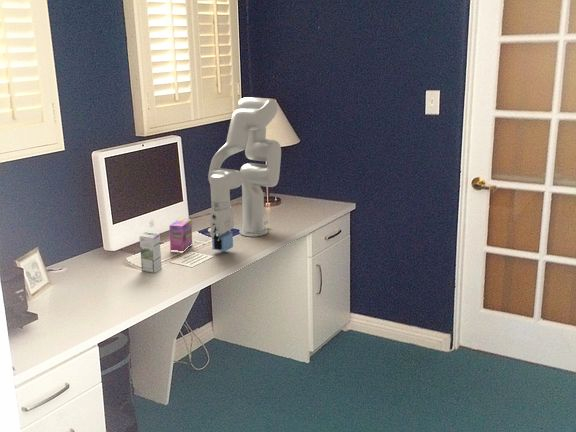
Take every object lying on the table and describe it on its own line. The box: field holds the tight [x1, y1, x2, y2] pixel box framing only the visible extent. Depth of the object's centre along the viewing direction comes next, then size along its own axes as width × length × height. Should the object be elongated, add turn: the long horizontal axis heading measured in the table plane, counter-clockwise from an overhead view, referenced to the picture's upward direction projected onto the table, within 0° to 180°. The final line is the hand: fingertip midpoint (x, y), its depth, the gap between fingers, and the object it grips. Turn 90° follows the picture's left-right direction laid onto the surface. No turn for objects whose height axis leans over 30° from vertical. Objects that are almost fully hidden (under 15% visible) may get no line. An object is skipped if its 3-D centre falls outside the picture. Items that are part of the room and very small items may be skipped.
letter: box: [169, 251, 214, 268], centre depth 268 cm, size 14×11×1 cm
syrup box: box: [139, 231, 162, 274], centre depth 255 cm, size 6×6×14 cm
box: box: [169, 217, 193, 251], centre depth 279 cm, size 10×6×12 cm, turn 165°
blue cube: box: [211, 232, 234, 253], centre depth 275 cm, size 6×6×6 cm
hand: (222, 245), depth 275 cm, fingers closed on blue cube, 6 cm apart
